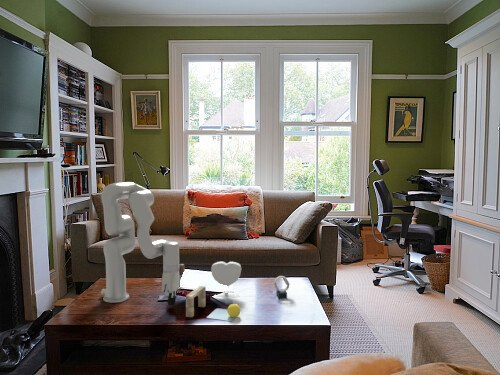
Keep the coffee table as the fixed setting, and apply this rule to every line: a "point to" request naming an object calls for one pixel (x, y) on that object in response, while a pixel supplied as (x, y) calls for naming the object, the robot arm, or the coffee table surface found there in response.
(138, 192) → the robot arm
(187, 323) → the coffee table surface
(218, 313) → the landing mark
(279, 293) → the watch
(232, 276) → the heart sculpture
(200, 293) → the bridge
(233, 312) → the ball
